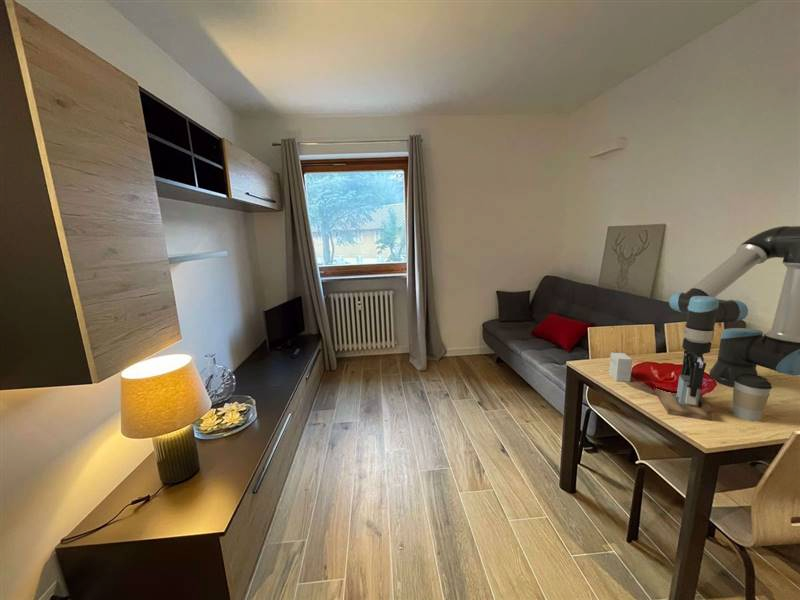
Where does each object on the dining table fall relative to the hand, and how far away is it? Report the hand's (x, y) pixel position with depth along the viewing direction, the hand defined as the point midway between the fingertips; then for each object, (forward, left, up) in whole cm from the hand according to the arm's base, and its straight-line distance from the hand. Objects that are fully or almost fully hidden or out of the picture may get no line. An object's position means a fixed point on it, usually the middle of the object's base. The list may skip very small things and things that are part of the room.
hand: (687, 399), depth 122 cm
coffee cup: (-17, -1, -3) cm, 17 cm away
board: (+1, -2, -3) cm, 4 cm away
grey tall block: (0, 0, -1) cm, 1 cm away
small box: (+18, -20, -3) cm, 28 cm away
